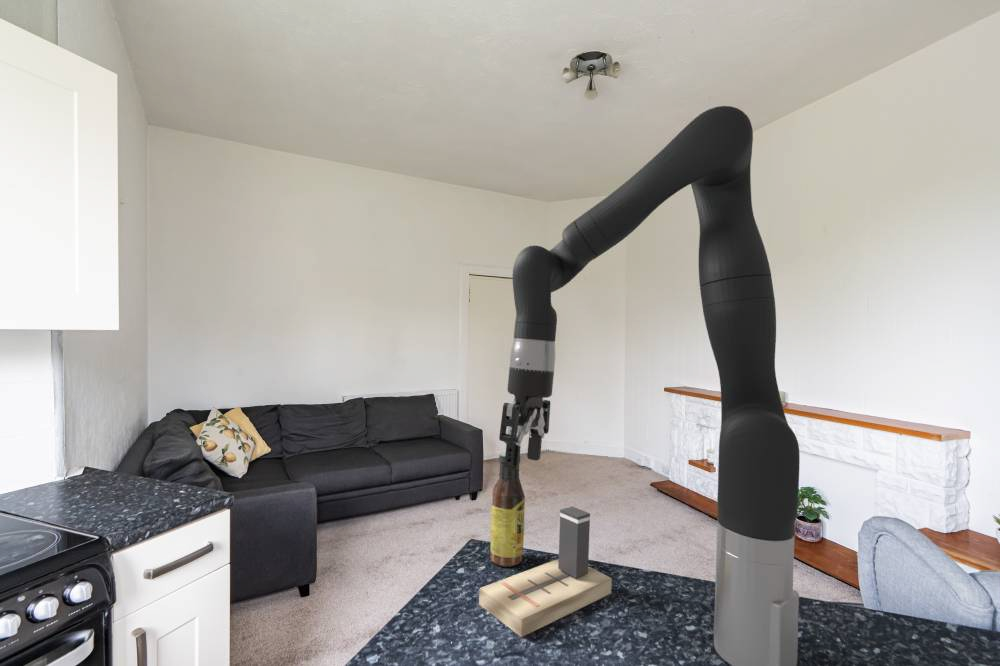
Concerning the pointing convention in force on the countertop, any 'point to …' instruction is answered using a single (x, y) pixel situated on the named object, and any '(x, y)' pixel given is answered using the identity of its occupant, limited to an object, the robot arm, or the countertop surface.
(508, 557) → the sauce bottle
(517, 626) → the fader console
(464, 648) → the countertop surface
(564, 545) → the fader cap
